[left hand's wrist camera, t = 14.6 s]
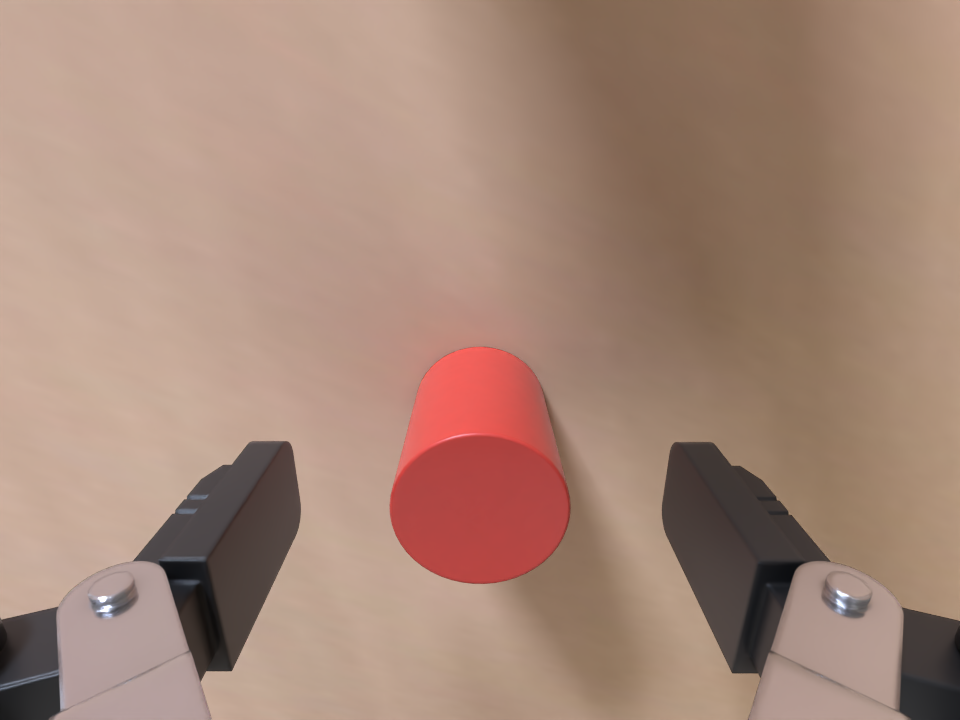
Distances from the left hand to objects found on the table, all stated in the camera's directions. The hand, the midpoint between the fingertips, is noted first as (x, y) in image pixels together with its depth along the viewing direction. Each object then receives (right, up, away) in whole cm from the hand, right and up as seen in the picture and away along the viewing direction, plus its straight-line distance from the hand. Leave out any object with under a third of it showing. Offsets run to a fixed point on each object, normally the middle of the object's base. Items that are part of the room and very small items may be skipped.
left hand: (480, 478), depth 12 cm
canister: (0, +1, +4) cm, 4 cm away
